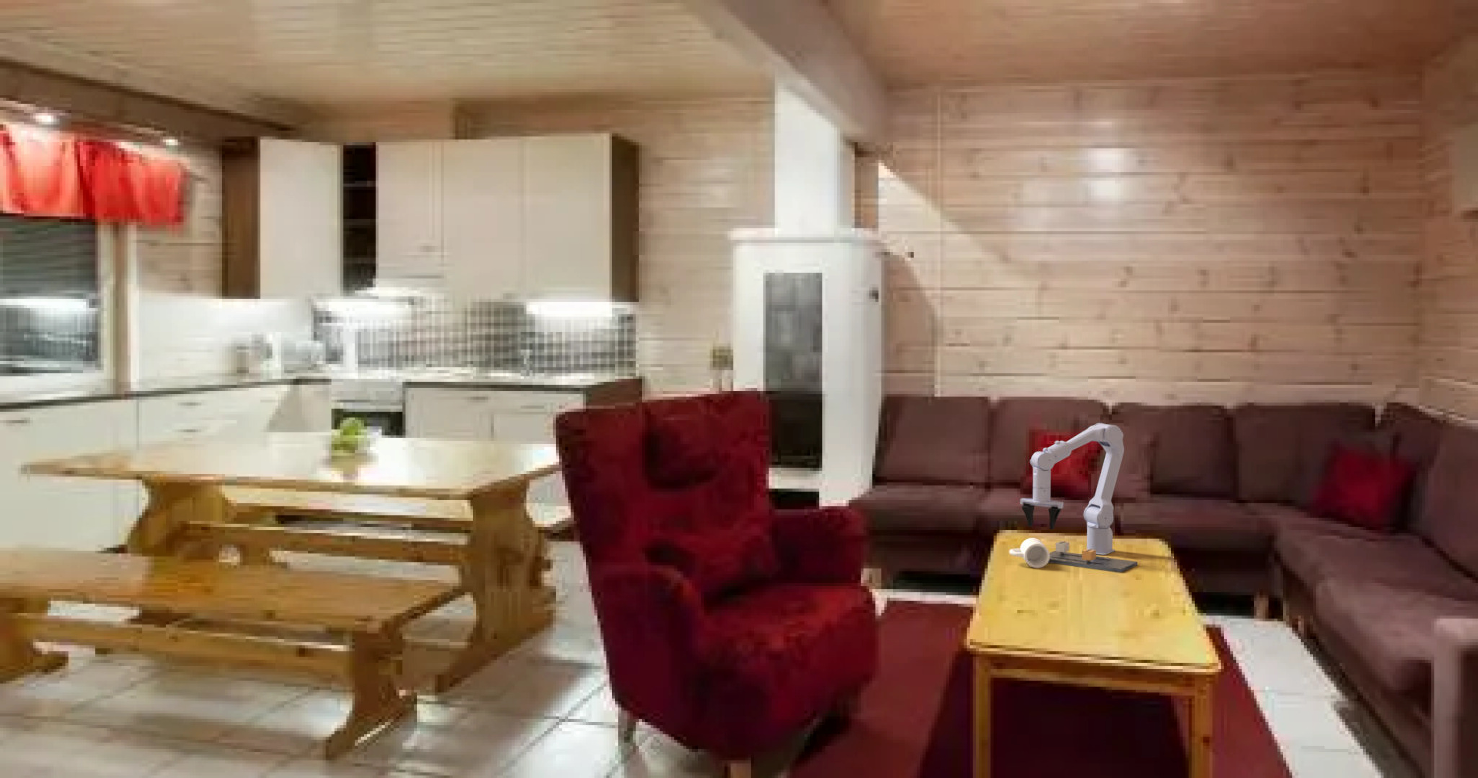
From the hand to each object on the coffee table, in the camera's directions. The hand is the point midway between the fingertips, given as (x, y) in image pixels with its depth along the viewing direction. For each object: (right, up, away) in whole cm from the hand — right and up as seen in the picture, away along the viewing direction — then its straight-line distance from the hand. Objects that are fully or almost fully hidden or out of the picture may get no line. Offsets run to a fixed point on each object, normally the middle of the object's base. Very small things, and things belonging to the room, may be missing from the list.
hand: (1041, 527), depth 384 cm
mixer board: (+12, -10, -12) cm, 20 cm away
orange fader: (+11, -9, -16) cm, 22 cm away
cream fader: (+6, -8, -3) cm, 11 cm away
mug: (-8, -11, -14) cm, 19 cm away
